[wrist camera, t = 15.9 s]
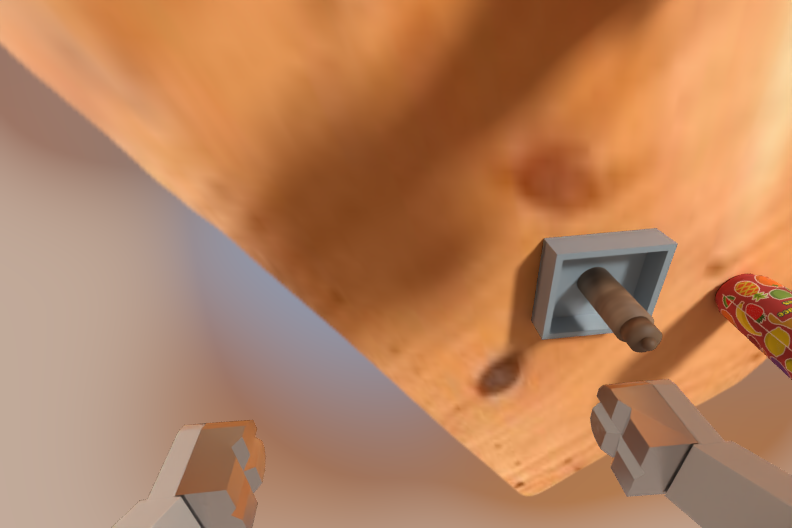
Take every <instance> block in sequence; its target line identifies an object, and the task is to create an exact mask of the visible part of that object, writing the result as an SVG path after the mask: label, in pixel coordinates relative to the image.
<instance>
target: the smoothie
mask: <svg viewBox="0 0 792 528" xmlns="http://www.w3.org/2000/svg"><path fill="white" fill-rule="evenodd" d="M715 301H716V304H717V305H718V309H719V312H720V313H721V314H722V315H723V316H724V317H725V318H726V319H728V320H729V321H730V322H731V323H732V324H733V325H734V326H735V327H736V328H737V329H738V330H739V331H740V332H741V333H742V334H744V335H745V336H746V337H747V338H748V339H749V340H750V341H751V342H752V343H753V344H754V345H755V346H756V347H757V348H758V349H759V350H761V351H762V352H763V353H764V354H765V355H766V356H767V357H768V358H769V359H770V360H771V361H772V362H773V363H774V364H776V365H777V366H778V367H779V368H780V369H781V370H782V371H783V372H784V373H785V374H786V375H787V376H788V377H789V378H790V379H791V380H792V291H791V290H789V289H788V288H786V287H784V286H782V285H780V284H779V283H777V282H775V281H773V280H771V279H769V278H768V277H765V276H761V275H758V276H756V275H753V274H742V275H738V276H736V277H734V278H732V279H730V280H728V281H727V282H726V283H724V284H723V285H722V286H721V288H720V289H719V290H718V292H717V294H716V298H715Z"/></svg>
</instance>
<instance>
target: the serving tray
mask: <svg viewBox="0 0 792 528" xmlns="http://www.w3.org/2000/svg"><path fill="white" fill-rule="evenodd" d="M676 247H677V243H676V242H675V241H673V240H672V239H670V238H669V237H668V236H666V235H665V234H663V233H662V232H661V231H659V230H658V229H656V228H654V229H643V230H632V231H621V232H610V233H599V234H587V235H576V236H565V237H554V238H544V241H543V247H542V254H541V260H540V267H539V273H538V280H537V286H536V293H535V299H534V306H533V312H532V319H531V321H532V323H533V324H534V326H535V328H536V330H537V332H538V333H539V335H540V337H541V339H542V340H543V339H554V338H564V337H574V336H585V335H595V334H606V333H613V332H612V330H611V329H610V328H609V327H608V325H607V324H606V323H605V322H604V320H603V319H602V318H601V317H600V315H599V314H598V313H597V312H596V310H595V309H594V308H593V306H592V305H591V304H590V303H589V301H588V300H587V299H586V298H585V296H584V295H583V294H582V293H581V291H580V290H579V289H578V287H577V282H578V279H579V277H580V276H581V275H582V273H584V272H585V271H586V270H588V269H590V268H594V267H602V268H605V269H606V270H607V271H608V272H609V273H610V274H611V275H612V276H613V277H614V278H615V279H616V280H617V281H618V282H619V283H620V284H621V285H622V286H623V287H624V288H625V289H626V290H627V291H628V293H629V294H630V295H631V296H632V297H633V298H634V299H635V300H636V301H637V302H638V303H639V304H640V305H641V306H642V307H643V308H644V309H645V310H646V311H647V312H648V313H649V314H650V315H651V316H652V313H653V311H654V308H655V305H656V302H657V300H658V297H659V294H660V291H661V289H662V286H663V283H664V280H665V277H666V275H667V272H668V269H669V266H670V264H671V261H672V258H673V255H674V253H675V250H676Z"/></svg>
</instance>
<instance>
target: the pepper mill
mask: <svg viewBox="0 0 792 528" xmlns="http://www.w3.org/2000/svg"><path fill="white" fill-rule="evenodd" d="M577 287H578V289H579V290H580V291H581V293H582V294H583V295H584V296H585V298H586V299H587V300H588V301H589V303H590V304H591V305H592V306H593V308H594V309H595V310H596V312H597V313H598V314H599V315H600V317H601V318H602V319H603V320H604V322H605V323H606V324H607V325H608V327H609V328H610V329H611V330H612V332H613V333H614V334H615V335H616V337H617V338H618V339H619V340H621V341H624V342H626V343H627V344H628V345H629V346H630V348H631V349H632V350H633V351H635V352H646V351H652V350H654V349H655V348H656V347H657V345H658V344H659V343H660V342H661V340H662V333H661V332H660V331H659V330H658V328H657V327H656V326H655V325H654V319H653V317H652V316H651V315H650V314H649V313H648V312H647V311H646V310H645V309H644V308H643V307H642V306H641V305H640V304H639V303H638V302H637V301H636V300H635V299H634V298H633V297H632V296H631V295H630V294H629V293H628V291H627V290H626V289H625V288H624V287H623V286H622V285H621V284H620V283H619V282H618V281H617V280H616V279H615V278H614V277H613V276H612V275H611V274H610V273H609V272H608V271H607V270H606V269H605V268H602V267H594V268H590V269H588V270H586V271H585V272H584V273H582V275H581V276H580V277H579V279H578V282H577Z"/></svg>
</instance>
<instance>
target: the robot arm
mask: <svg viewBox="0 0 792 528" xmlns="http://www.w3.org/2000/svg"><path fill="white" fill-rule="evenodd" d="M597 397H598V399H599V401H600V403H598V404H597V405H596V406H595V407H594V408H593V409H592V413H591V417H590V419H591V427H592V431H593V434H594V437H595V439H596V441H597V443H598V445H599V447H600V449H601V450H603V451H604V452H605V453H607V454H608V455H610V456H611V457H612V462H611V469H612V471H613V472H614V474H615V476H616V478H617V480H618V481H619V483H620V485H621V487H622V489H623V490H624V492H625V494H626V496H640V495H654V494H666V495H665V496H666V497H667V498H668V499H669V500H670V501H672V502H673V503H674V504H675V505H676V506H677V507H679V508H680V509H681V510H682V511H683V512H685V513H686V514H687V515H688V516H689V517H690V518H691V519H693V520H694V521H695V522H696V523H697V524H698V525H700V526H701V527H702V528H792V475H790V474H788V473H787V472H785V471H783V470H781V469H780V468H778V467H776V466H774V465H773V464H771V463H769V462H768V461H766V460H764V459H762V458H760V457H759V456H757V455H755V454H753V453H752V452H750V451H748V450H747V449H745V448H743V447H741V446H740V445H738V444H736V443H734V442H732V441H724V440H723V439H722V438H721V436H720V435H719V434H718V433H717V432H716V431H715V429H714V428H713V427H712V426H711V425H710V424H709V422H708V421H707V420H706V419H705V418H704V417H703V416H702V414H701V413H700V412H699V411H698V410H697V409H696V407H695V406H694V405H693V404H692V403H691V402H690V400H689V399H688V398H687V397H686V396H685V395H684V393H683V392H682V391H681V390H680V389H679V388H678V386H677V385H676V384H675V383H674V382H672V381H671V380H669V379H660V380H651V381H636V382H627V383H618V384H609V385H603V386H602V387H600V388H599V390H598V393H597ZM256 431H257V427H256V425H255V423H254V421H253V420H244V421H231V422H216V423H203V424H193V425H184V426H183V427H182V428H181V429H180V430H179V431H178V433H177V435H176V437H175V439H174V442H173V444H172V446H171V448H170V450H169V453H168V455H167V457H166V459H165V461H164V463H163V465H162V468H161V470H160V472H159V474H158V476H157V479H156V481H155V483H154V485H153V488H152V490H151V492H150V494H149V497H148V498H147V500H140V501H139V502H138V503H137V504H136V505H135V506H133V507H132V508H131V509H130V510H129V511H128V512H127V513H126V514H125V515H124V516H123V517H122V518H121V519H120V520H119V521H118V522H117V523H115V524H114V525H113V526H112V527H111V528H252V526H253V523H254V518H255V513H256V509H257V505H258V502H257V500H256V498H255V496H254V494H253V493H254V492H255V491H256V490H257V489H258V487H259V486H260V485H261V484H262V482H263V477H264V472H265V459H266V455H265V449H264V445H263V443H262V440H260V439H258V438H256V437H255V435H256Z"/></svg>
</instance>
